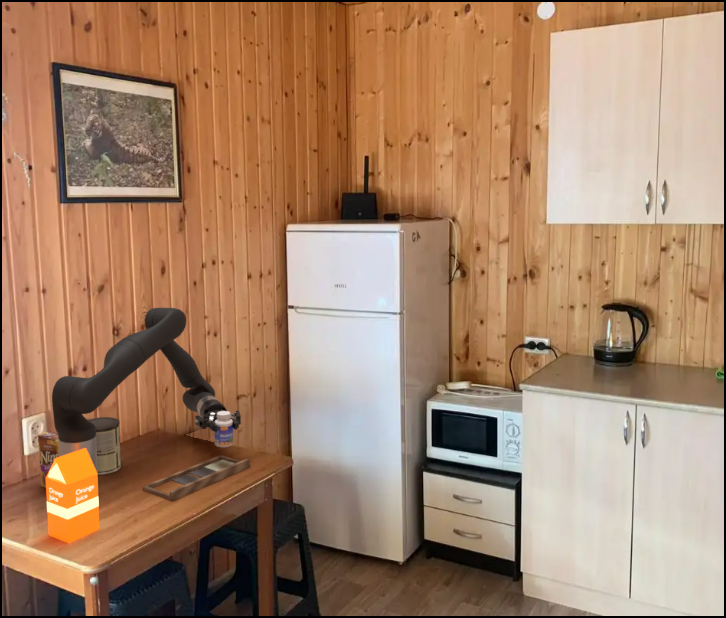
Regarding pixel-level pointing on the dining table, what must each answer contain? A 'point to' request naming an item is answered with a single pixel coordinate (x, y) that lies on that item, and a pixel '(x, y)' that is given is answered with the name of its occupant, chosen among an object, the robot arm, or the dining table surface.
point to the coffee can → (107, 444)
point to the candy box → (47, 452)
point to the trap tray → (207, 473)
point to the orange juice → (72, 497)
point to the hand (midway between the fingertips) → (226, 427)
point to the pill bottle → (224, 429)
